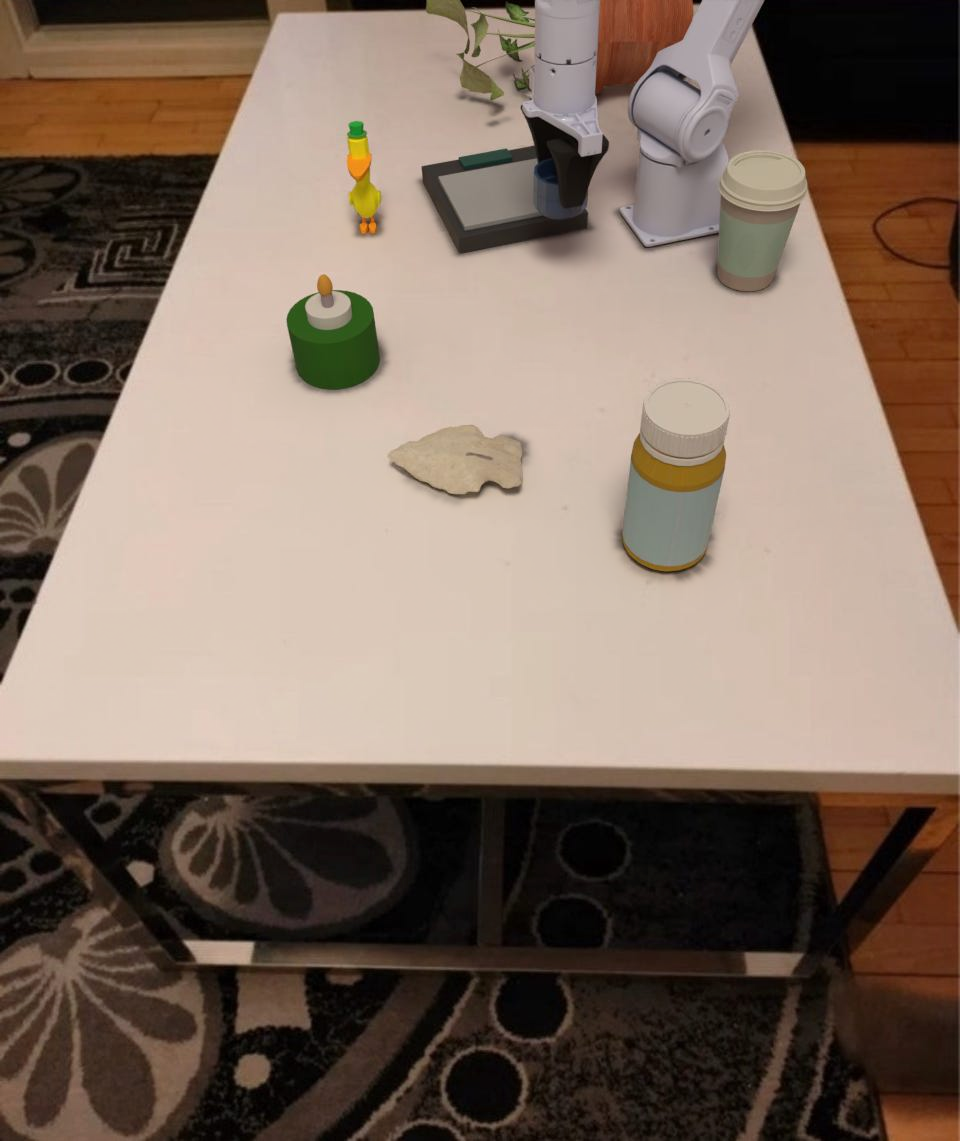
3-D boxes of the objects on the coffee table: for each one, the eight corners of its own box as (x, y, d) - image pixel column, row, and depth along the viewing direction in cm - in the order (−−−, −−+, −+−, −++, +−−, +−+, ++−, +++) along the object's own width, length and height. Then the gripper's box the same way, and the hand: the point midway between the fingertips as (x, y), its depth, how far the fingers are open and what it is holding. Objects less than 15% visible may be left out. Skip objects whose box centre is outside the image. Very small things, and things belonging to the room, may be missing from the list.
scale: (541, 159, 124) (541, 139, 122) (587, 228, 114) (588, 207, 112) (422, 181, 121) (421, 161, 119) (459, 253, 111) (458, 232, 109)
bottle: (615, 516, 86) (629, 378, 74) (696, 509, 86) (723, 370, 74) (629, 579, 81) (647, 443, 70) (715, 572, 82) (747, 435, 70)
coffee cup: (791, 259, 109) (816, 153, 99) (779, 306, 104) (804, 198, 94) (712, 247, 111) (729, 141, 101) (696, 291, 105) (713, 185, 96)
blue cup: (575, 188, 106) (577, 151, 103) (595, 215, 103) (597, 179, 99) (526, 198, 105) (526, 161, 102) (544, 226, 102) (545, 189, 99)
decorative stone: (520, 509, 88) (524, 484, 86) (383, 497, 87) (384, 471, 85) (519, 446, 93) (523, 420, 91) (390, 434, 93) (391, 408, 90)
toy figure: (382, 246, 113) (369, 142, 103) (350, 247, 113) (335, 144, 103) (385, 213, 117) (373, 111, 108) (354, 214, 117) (340, 112, 108)
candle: (314, 399, 97) (296, 312, 89) (284, 352, 101) (264, 265, 94) (393, 372, 99) (382, 284, 91) (360, 326, 104) (347, 240, 96)
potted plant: (659, 70, 141) (408, 64, 138) (682, -49, 129) (408, -57, 126) (680, 131, 132) (411, 127, 129) (707, 9, 120) (411, 2, 117)
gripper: (499, 26, 96) (501, 162, 106) (551, 93, 87) (548, 234, 97) (569, 14, 97) (564, 149, 107) (628, 79, 88) (616, 220, 98)
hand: (561, 189), depth 102 cm, fingers closed on blue cup, 5 cm apart
